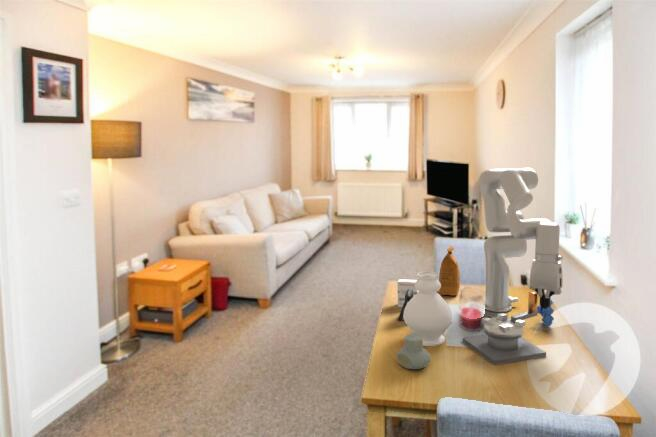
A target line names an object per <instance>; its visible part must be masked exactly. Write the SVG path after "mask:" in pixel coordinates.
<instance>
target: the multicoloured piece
mask: <svg viewBox="0 0 656 437" xmlns="http://www.w3.org/2000/svg"><path fill="white" fill-rule="evenodd" d="M538 297H539V295H538V294H537V292H536V291H529V292H528V303H527V305H528V307H527V311H525V312H522V313H518V314H514V315H511V316H510V317H509V318H508V314H507V313H505V312H499V313H497V317H496V316H495V317H483V318H481V323H482V324H483V332H484V334H486V335H488V336H490V337H493V338H497V339H504V340H513V339H518V338H520V337H522V338H523V335H524V327H525V326H526V321H525V320H526V319H530V318H533V317H536V316H538V314H539V313H538V312H537V306H538V299H539V298H538Z"/></svg>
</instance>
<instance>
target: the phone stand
mask: <svg viewBox="0 0 656 437" xmlns="http://www.w3.org/2000/svg"><path fill="white" fill-rule="evenodd" d="M408 291H409V289H408V290H407V291H406V294H405V302H404V304H403V307H401V310H400V312H399V316H398V318H397V322H404V323H405V321H404V317H403V314H404V309H405V307H406V305H407V302H409V301H410V300H411V299H412V298H413V297H414V296H413V294H414V292H413V290H412V289H411V291H410V295H408Z"/></svg>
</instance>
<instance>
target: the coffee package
mask: <svg viewBox="0 0 656 437" xmlns="http://www.w3.org/2000/svg"><path fill="white" fill-rule="evenodd" d="M446 250H447V253H446V255H445V256H444V257H443V259H442V261H441V263H440V264H441V265H440V268H439V274H438V281H439V282H440V283H441V288H440V289H439V290H438V294H439V295H440V296H458V295H459V291H460V284H461V281H460V280H461V275H460V273H461V272H460V268H459V267H460V265H459V264H458V261H457V259H456V258H455V257H454V254H453V251H454V250H455V247H454V246H453V245H452V246H449V247H448V248H447V249H446Z"/></svg>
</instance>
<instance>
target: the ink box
mask: <svg viewBox="0 0 656 437" xmlns="http://www.w3.org/2000/svg"><path fill="white" fill-rule="evenodd" d="M417 280H418V279H404V278H402V279H401V278H399V279H398V280H397V307H398V308H402V307H403V304H404V302H405V294H406V291H407V290H408V289H409V291H408V295H410V291H411V289H412V290H413V292H414V294H413V296H415V295H416V294H417V293H418V292H419V291H418V290H417V289H416V288H415V282H416V281H417ZM407 304H408V302H407Z"/></svg>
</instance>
